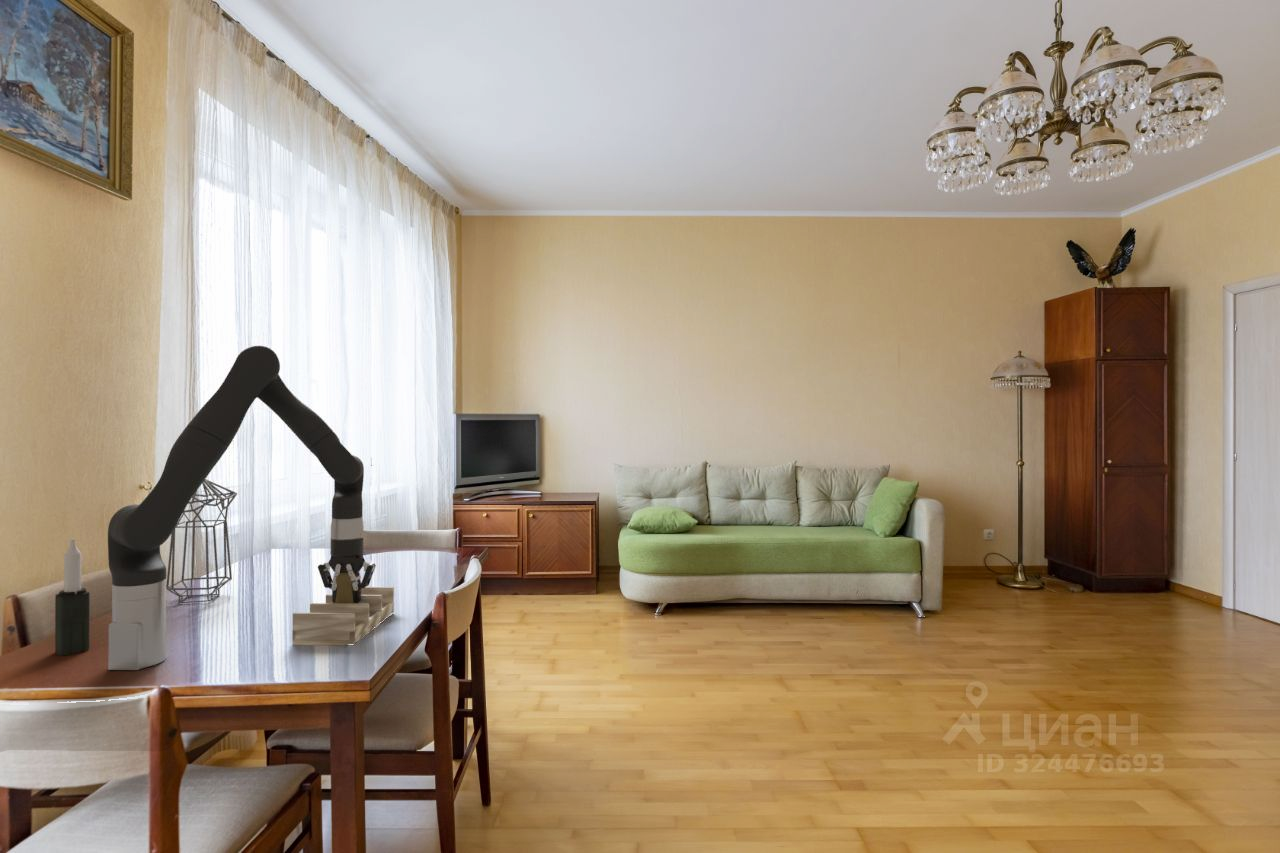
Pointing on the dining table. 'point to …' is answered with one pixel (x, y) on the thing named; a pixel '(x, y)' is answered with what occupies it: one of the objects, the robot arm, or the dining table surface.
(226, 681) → the dining table surface
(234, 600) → the dining table surface
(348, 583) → the cork
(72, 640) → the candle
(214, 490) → the geometric lantern
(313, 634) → the slot rack
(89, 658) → the dining table surface
